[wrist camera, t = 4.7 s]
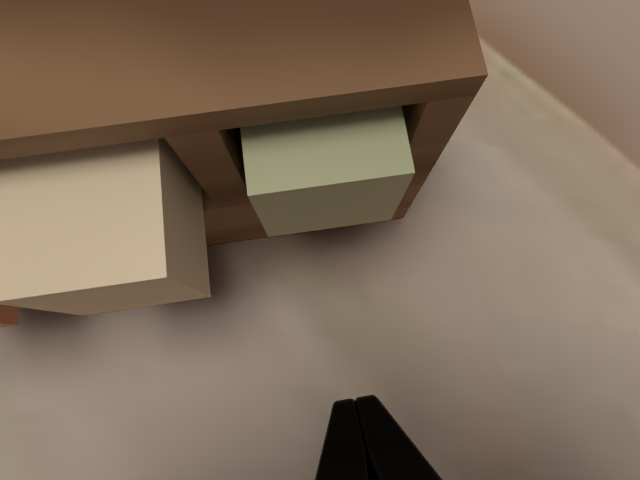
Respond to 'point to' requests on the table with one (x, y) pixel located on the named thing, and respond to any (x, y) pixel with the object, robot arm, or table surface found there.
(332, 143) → the key sage
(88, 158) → the key cream
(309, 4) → the key panel
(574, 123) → the table surface
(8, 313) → the key terracotta
